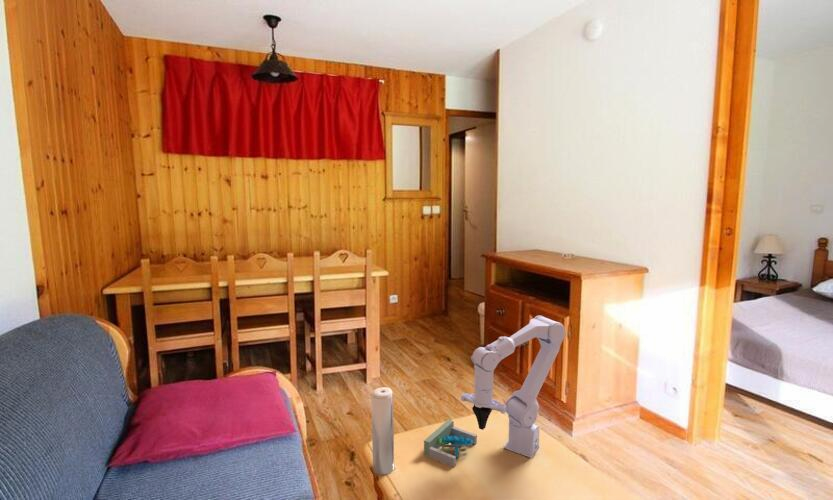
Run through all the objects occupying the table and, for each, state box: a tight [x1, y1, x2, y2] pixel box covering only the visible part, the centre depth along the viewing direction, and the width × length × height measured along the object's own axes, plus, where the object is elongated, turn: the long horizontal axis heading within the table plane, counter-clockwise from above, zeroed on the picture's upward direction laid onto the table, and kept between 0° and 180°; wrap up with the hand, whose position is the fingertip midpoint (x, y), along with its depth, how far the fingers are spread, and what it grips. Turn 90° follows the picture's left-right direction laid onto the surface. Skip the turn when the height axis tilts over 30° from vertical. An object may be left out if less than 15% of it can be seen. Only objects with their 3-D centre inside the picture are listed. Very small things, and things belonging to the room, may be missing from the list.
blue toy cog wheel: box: [438, 435, 473, 459], centre depth 136 cm, size 11×6×10 cm
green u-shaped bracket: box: [423, 419, 478, 468], centre depth 138 cm, size 11×15×5 cm
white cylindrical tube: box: [370, 386, 395, 476], centre depth 127 cm, size 6×6×25 cm
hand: (482, 427), depth 132 cm, fingers closed
